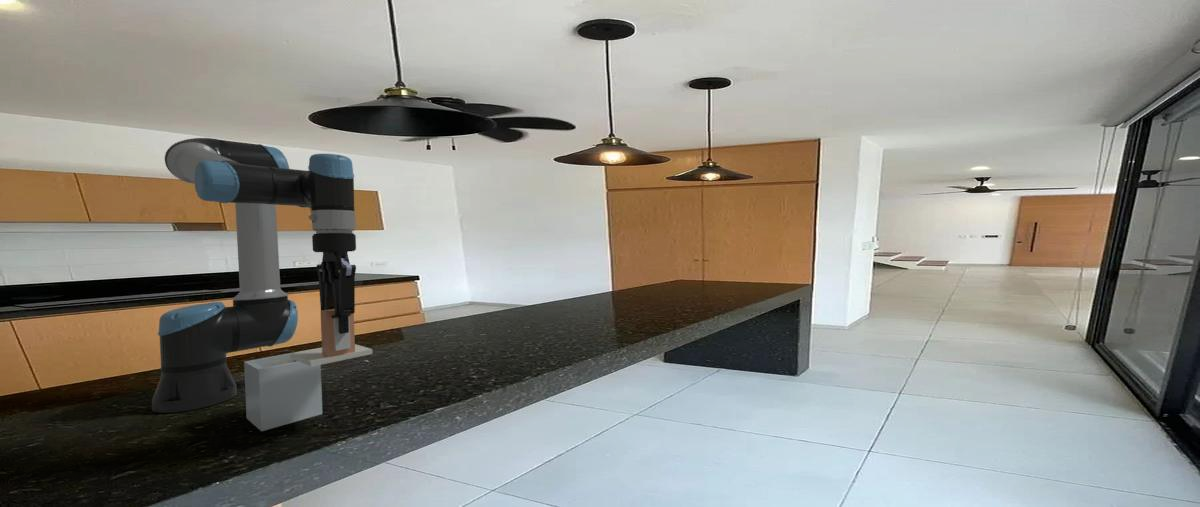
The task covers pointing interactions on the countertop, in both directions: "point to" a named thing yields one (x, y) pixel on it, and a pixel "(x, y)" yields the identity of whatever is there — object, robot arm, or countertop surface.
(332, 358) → the lid
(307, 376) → the tub
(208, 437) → the countertop surface
